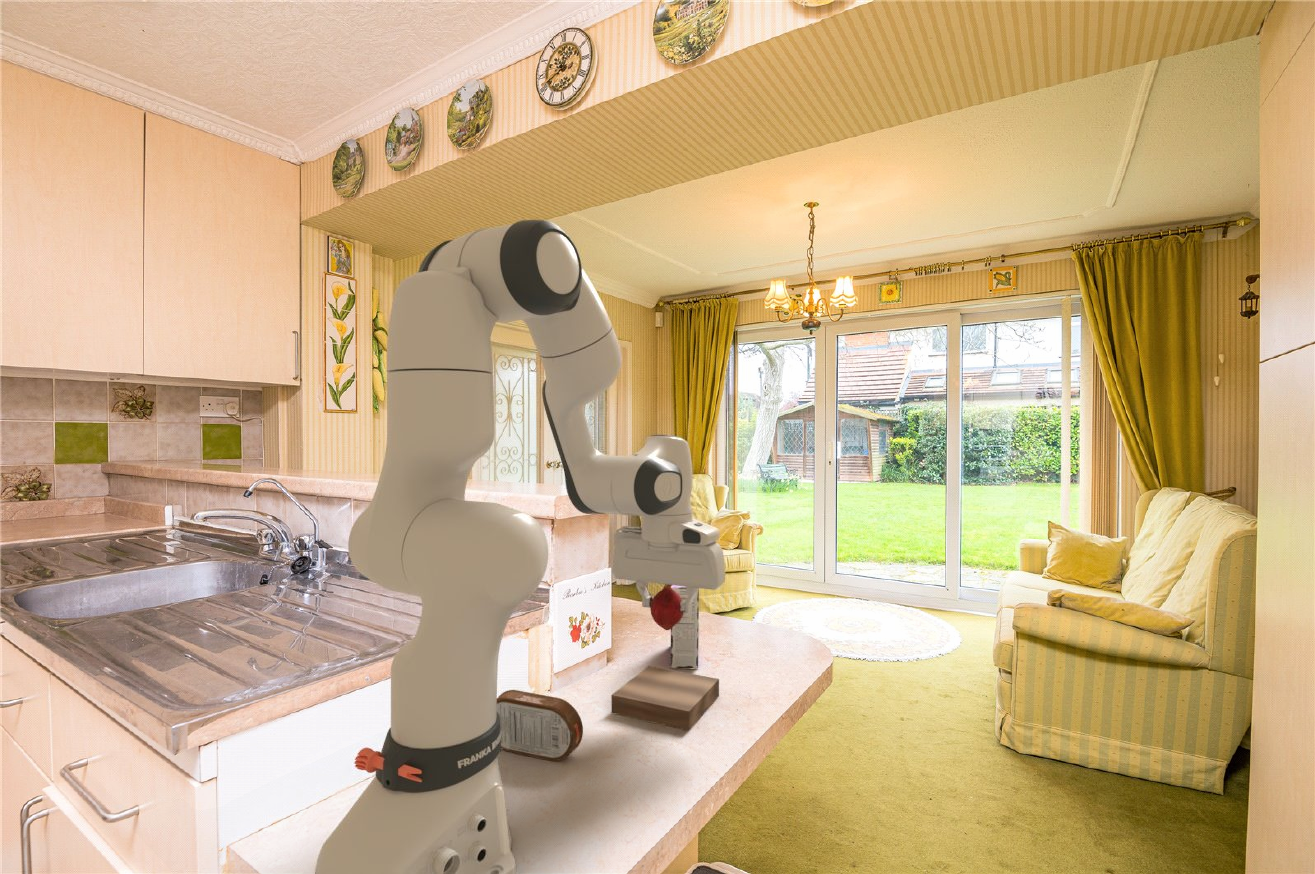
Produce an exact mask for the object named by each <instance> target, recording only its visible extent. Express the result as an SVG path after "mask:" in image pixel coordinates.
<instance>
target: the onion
mask: <svg viewBox="0 0 1315 874" xmlns="http://www.w3.org/2000/svg"><path fill="white" fill-rule="evenodd" d="M680 602H682V599H681V597H680V596H679V595H678V594H677V593H676V592H675V591H674V590H672V589H671V585H667V584H664V586H663V588H662V589H661V590H659V591H658V592H657V593H656V594H655V595H654V598H653V600H652V602H651V608H649V609H650V614H651V617H652V619H653V621H654V622H655V623H656V625H658V626H659V627H661V628H662V629H663V630H665V631H671V628H672V627H673V626H675V625H676V624H677V623H678V622H679V621H680V620H681V618H682V616H683V614H684V612H681V611H680V609H681V606H680Z"/></svg>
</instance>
